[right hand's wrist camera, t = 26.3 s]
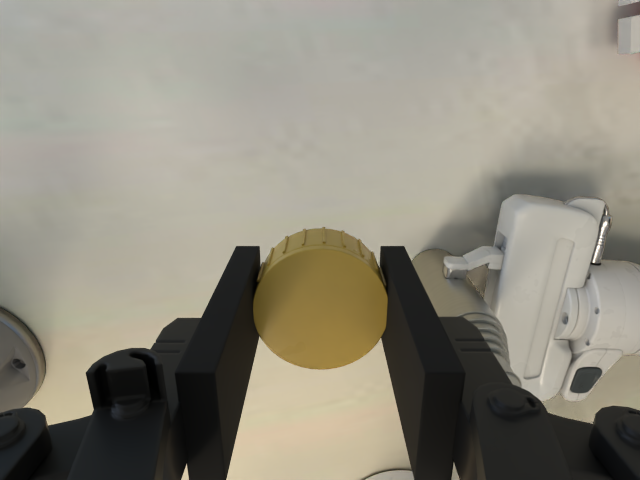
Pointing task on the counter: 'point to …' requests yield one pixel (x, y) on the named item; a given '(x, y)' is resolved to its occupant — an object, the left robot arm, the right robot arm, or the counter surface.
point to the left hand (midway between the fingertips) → (439, 299)
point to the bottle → (462, 304)
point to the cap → (320, 299)
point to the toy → (628, 31)
